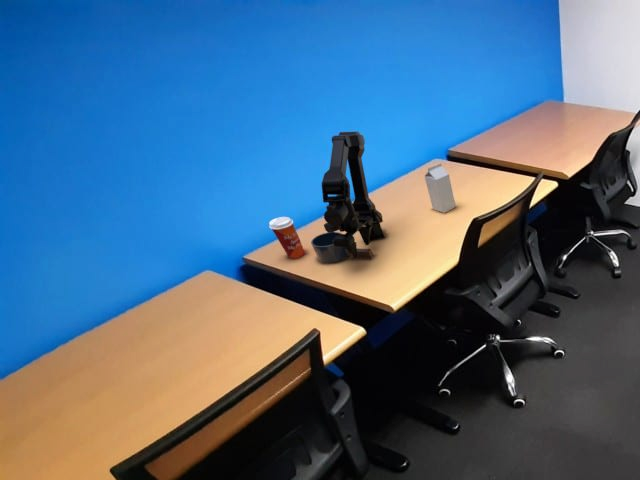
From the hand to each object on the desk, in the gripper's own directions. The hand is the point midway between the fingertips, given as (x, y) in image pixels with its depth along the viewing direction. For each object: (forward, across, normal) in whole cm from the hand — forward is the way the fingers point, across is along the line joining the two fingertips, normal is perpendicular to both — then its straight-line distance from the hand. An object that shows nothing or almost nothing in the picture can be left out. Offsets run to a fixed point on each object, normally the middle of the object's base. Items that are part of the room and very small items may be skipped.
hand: (361, 251), depth 173 cm
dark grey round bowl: (+2, 0, -12) cm, 12 cm away
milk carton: (+3, -42, +17) cm, 45 cm away
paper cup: (+3, 0, -26) cm, 26 cm away
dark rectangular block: (+2, 0, 0) cm, 3 cm away
